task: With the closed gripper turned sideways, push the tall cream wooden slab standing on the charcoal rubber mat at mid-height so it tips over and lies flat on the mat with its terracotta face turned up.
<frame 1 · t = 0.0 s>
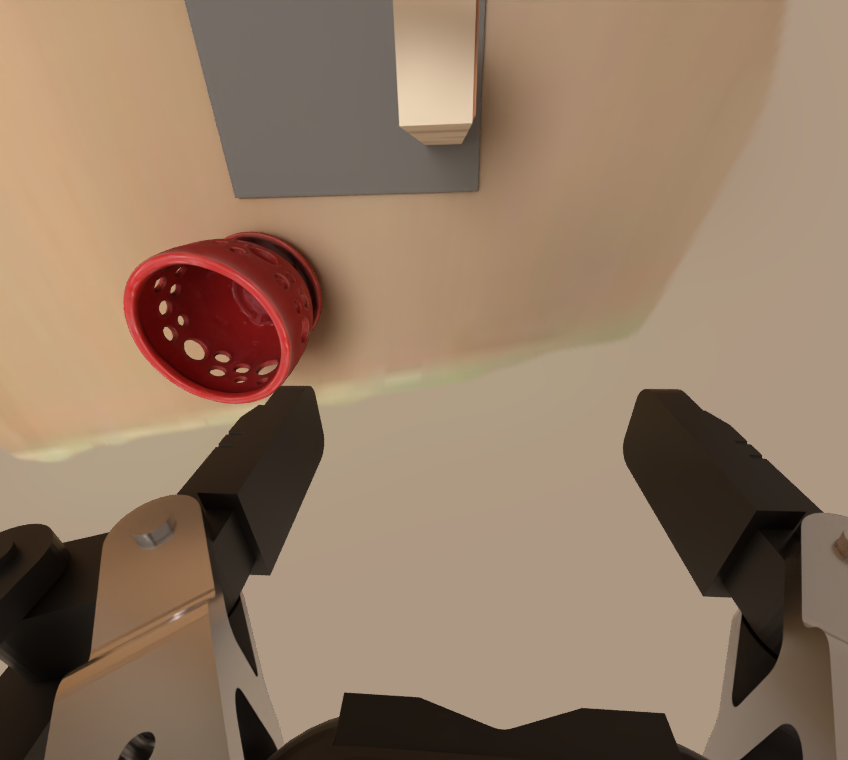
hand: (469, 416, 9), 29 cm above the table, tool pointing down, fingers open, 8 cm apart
slab: (443, 99, 29), point 1 cm above the table, touching mat
plant pot: (272, 291, 39), on the table
mat: (343, 90, 30), on the table
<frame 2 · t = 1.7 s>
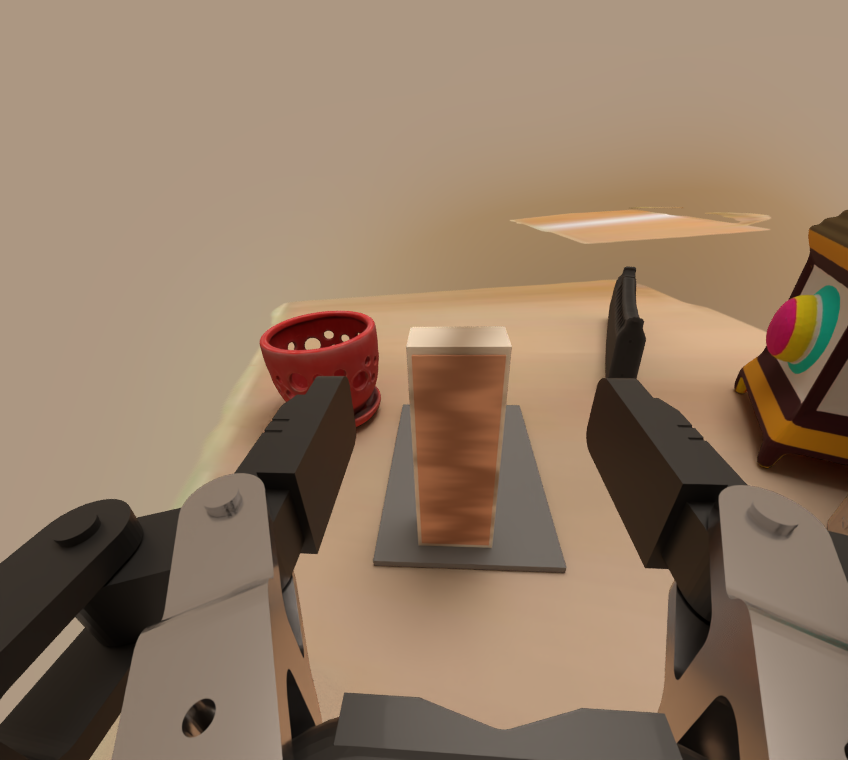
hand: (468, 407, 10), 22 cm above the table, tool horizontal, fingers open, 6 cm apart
slab: (454, 530, 31), point 1 cm above the table, touching mat
plant pot: (334, 413, 48), on the table
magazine: (615, 352, 61), on the table
decorative lantern: (839, 445, 40), on the table
mat: (463, 469, 39), on the table
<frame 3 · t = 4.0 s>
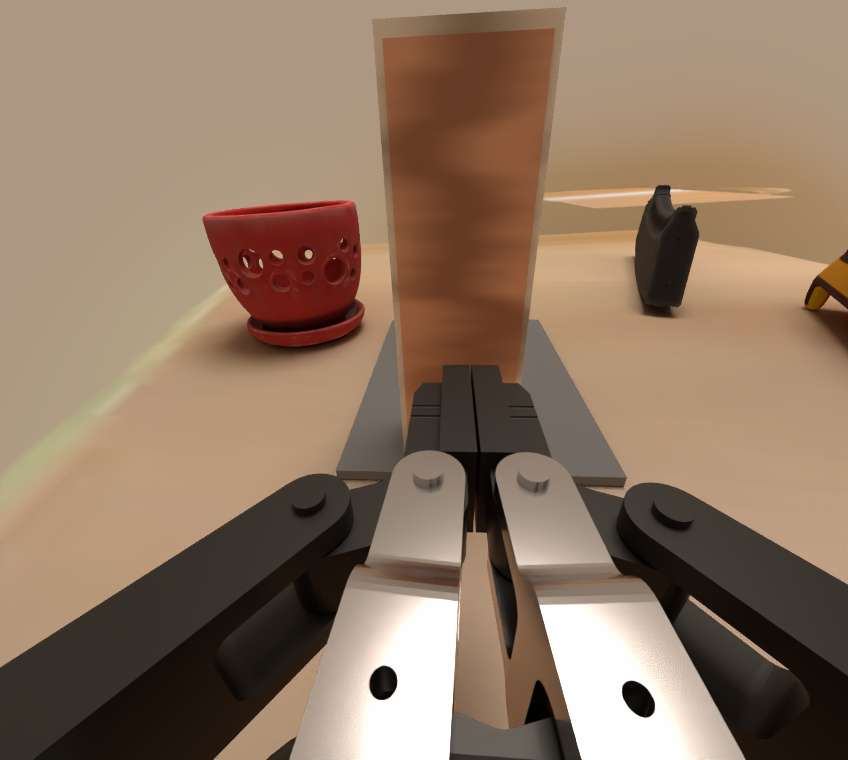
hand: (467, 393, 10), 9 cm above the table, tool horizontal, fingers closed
slab: (457, 436, 22), point 1 cm above the table, touching mat
plant pot: (307, 331, 39), on the table
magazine: (647, 282, 51), on the table
mat: (468, 378, 29), on the table
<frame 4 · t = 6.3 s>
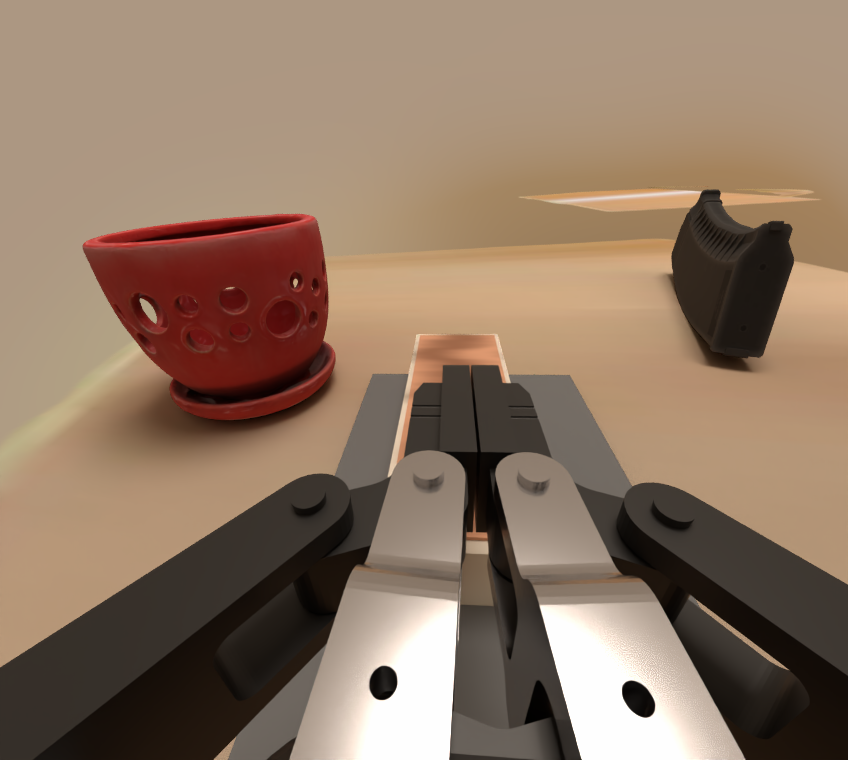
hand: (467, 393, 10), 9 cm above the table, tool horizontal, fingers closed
slab: (462, 580, 13), point 2 cm above the table, tilted 90°, touching mat
plant pot: (259, 388, 29), on the table
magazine: (695, 310, 41), on the table
mat: (477, 488, 19), on the table
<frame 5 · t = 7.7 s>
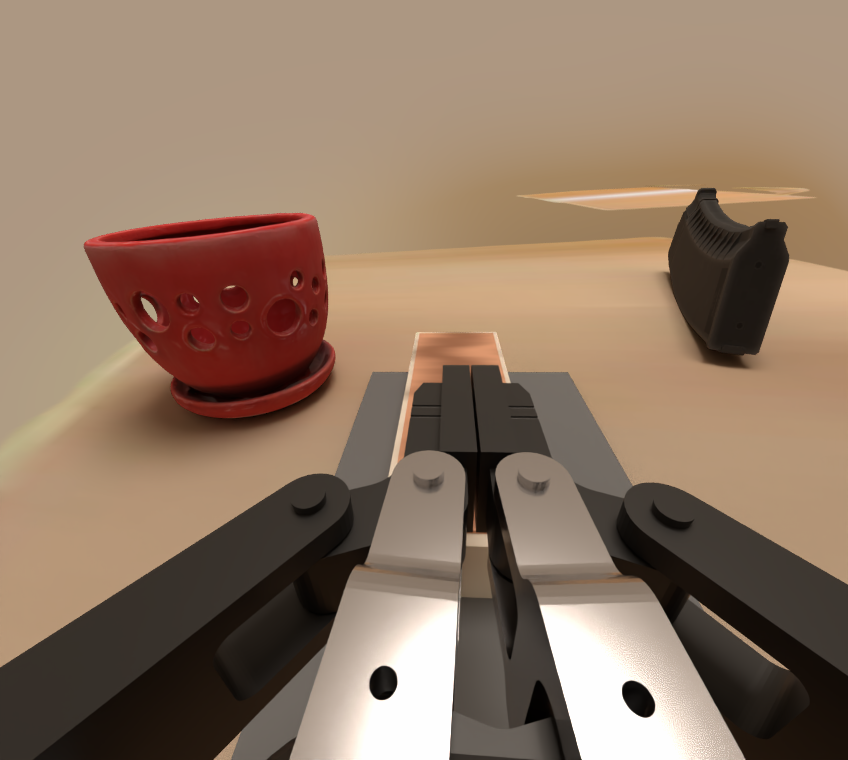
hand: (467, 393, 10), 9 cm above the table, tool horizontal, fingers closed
slab: (463, 573, 13), point 2 cm above the table, tilted 90°, touching mat
plant pot: (259, 386, 29), on the table
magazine: (692, 308, 42), on the table
mat: (477, 484, 19), on the table
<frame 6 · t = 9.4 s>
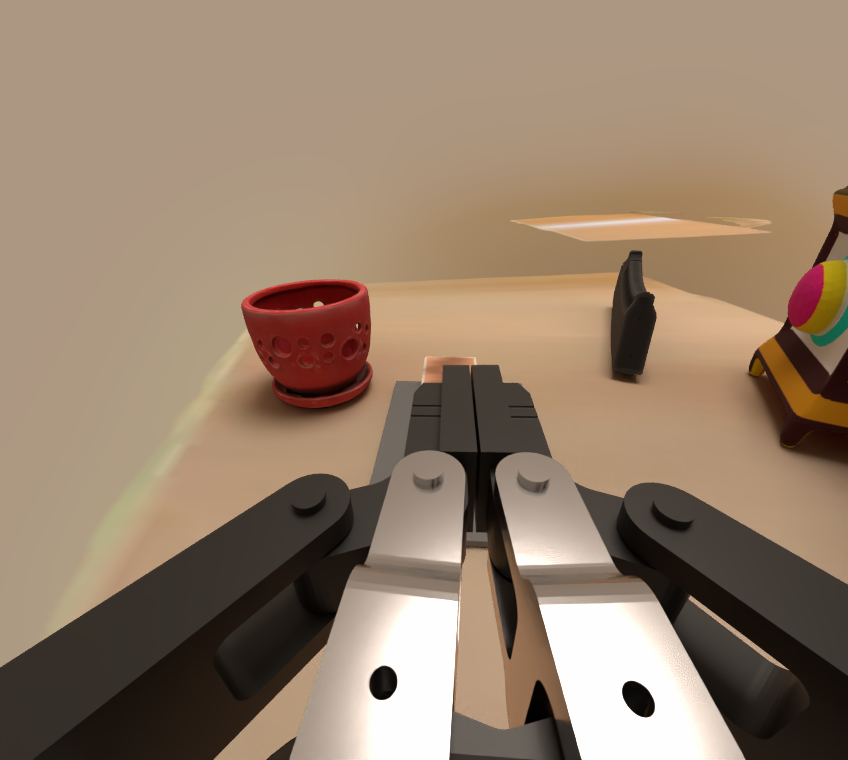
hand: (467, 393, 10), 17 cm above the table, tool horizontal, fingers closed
slab: (450, 474, 29), point 2 cm above the table, tilted 90°, touching mat
plant pot: (322, 389, 45), on the table
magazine: (620, 339, 58), on the table
mat: (460, 444, 35), on the table
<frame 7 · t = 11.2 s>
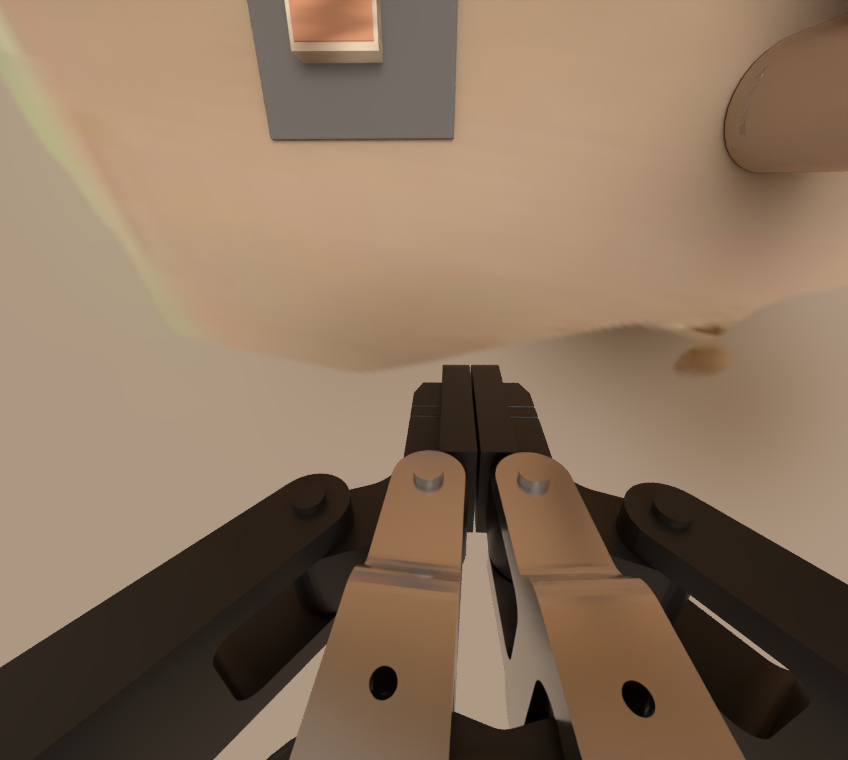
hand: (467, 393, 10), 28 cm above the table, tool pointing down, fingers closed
slab: (339, 57, 27), point 2 cm above the table, tilted 90°, touching mat
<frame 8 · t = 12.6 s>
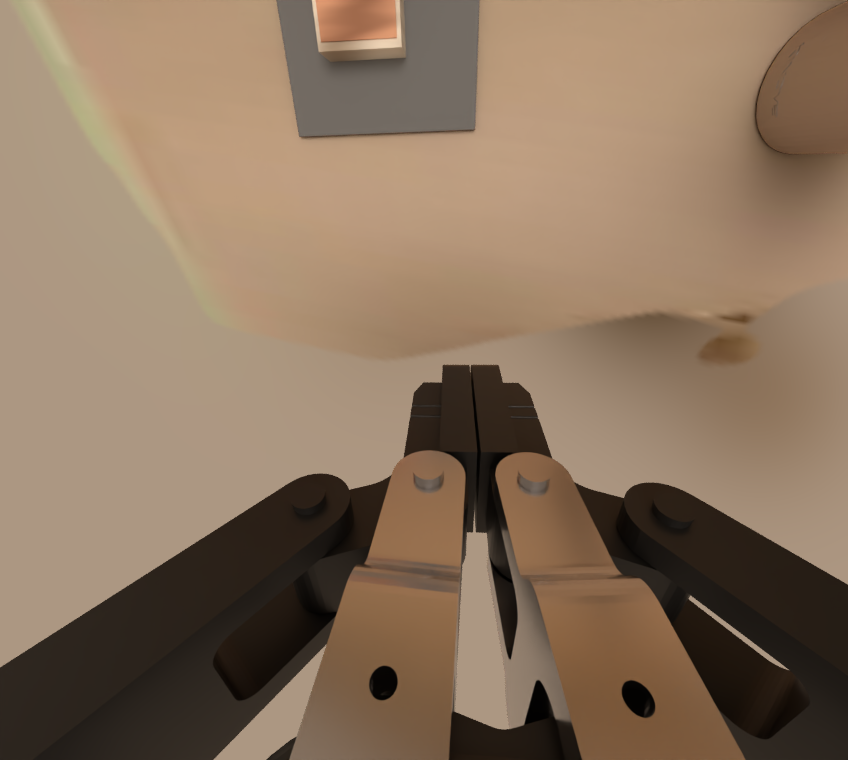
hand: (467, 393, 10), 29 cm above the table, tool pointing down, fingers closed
slab: (364, 54, 28), point 2 cm above the table, tilted 90°, touching mat
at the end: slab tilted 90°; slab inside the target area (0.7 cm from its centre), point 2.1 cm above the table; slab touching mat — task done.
